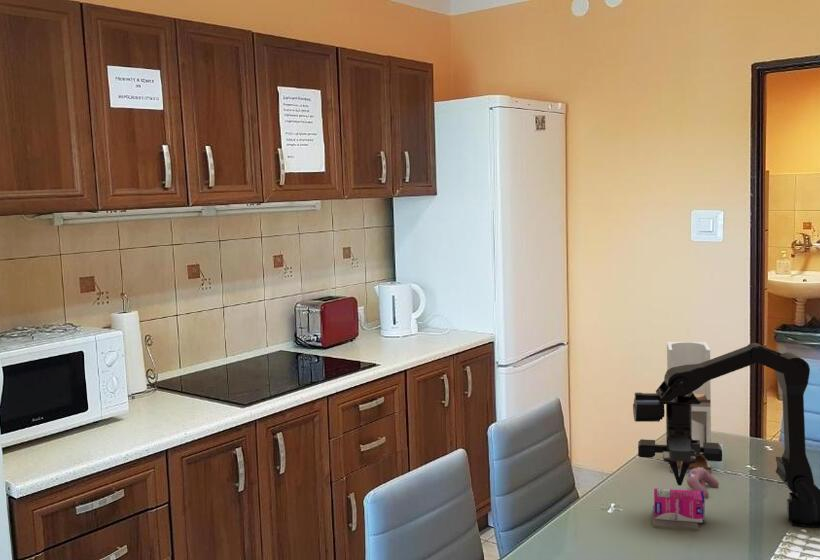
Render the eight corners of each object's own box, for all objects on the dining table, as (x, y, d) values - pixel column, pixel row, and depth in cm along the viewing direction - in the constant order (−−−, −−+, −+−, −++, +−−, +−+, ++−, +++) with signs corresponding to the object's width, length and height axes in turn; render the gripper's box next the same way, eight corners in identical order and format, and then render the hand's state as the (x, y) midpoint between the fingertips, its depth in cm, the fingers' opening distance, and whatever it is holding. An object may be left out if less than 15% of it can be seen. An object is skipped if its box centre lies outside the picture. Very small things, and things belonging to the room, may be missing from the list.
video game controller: (705, 490, 206) (693, 465, 207) (721, 485, 203) (708, 460, 205) (692, 502, 198) (680, 476, 200) (709, 498, 196) (696, 472, 197)
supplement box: (705, 523, 180) (654, 520, 184) (704, 513, 186) (654, 510, 190) (704, 499, 180) (653, 496, 183) (703, 490, 185) (653, 487, 189)
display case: (668, 458, 227) (666, 341, 223) (707, 460, 224) (706, 342, 220) (670, 472, 216) (669, 349, 212) (711, 474, 213) (710, 350, 209)
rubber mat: (695, 510, 189) (695, 508, 189) (698, 531, 178) (698, 528, 178) (653, 507, 192) (652, 505, 192) (653, 527, 181) (653, 525, 181)
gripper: (637, 429, 178) (638, 494, 179) (724, 433, 172) (724, 500, 174) (638, 416, 188) (639, 477, 190) (720, 419, 183) (720, 482, 184)
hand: (679, 484), depth 184 cm, fingers closed
